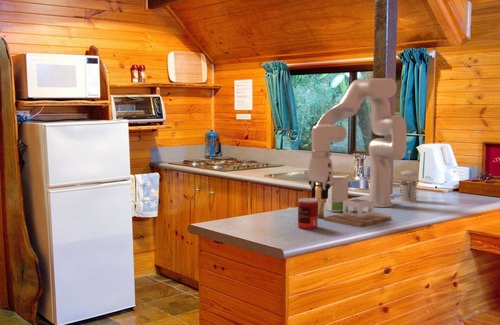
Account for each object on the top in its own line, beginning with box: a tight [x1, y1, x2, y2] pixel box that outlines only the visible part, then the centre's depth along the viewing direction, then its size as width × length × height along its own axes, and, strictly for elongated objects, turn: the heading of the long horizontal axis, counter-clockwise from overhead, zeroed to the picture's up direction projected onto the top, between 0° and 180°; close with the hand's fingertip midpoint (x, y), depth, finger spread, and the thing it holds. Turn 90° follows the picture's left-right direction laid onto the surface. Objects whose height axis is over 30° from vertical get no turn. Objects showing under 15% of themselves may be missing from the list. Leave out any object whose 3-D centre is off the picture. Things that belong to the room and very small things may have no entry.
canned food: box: [297, 197, 319, 230], centre depth 233 cm, size 8×8×11 cm
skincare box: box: [325, 175, 350, 213], centre depth 269 cm, size 8×7×16 cm
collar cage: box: [342, 197, 375, 220], centre depth 249 cm, size 9×9×7 cm
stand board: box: [323, 212, 392, 228], centre depth 250 cm, size 22×18×1 cm
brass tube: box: [314, 182, 326, 219], centre depth 253 cm, size 4×4×15 cm
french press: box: [397, 150, 419, 204], centre depth 295 cm, size 10×12×25 cm
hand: (319, 197), depth 253 cm, fingers open, 4 cm apart
